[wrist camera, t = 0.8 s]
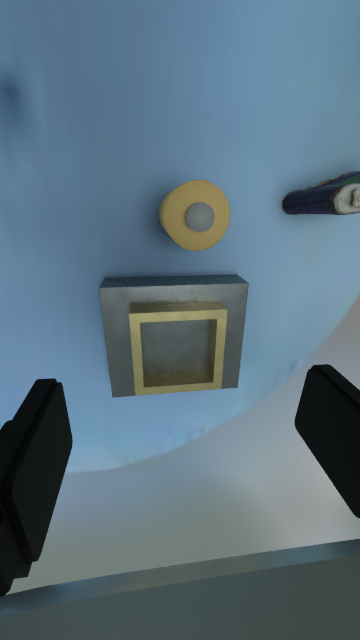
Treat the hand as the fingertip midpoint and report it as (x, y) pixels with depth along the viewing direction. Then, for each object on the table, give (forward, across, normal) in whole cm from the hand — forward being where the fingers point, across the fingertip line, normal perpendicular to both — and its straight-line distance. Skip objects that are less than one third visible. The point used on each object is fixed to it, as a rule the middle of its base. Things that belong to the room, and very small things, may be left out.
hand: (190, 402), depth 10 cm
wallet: (+24, -18, -8) cm, 31 cm away
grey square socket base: (+23, -2, +8) cm, 25 cm away
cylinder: (+23, -2, -6) cm, 24 cm away
